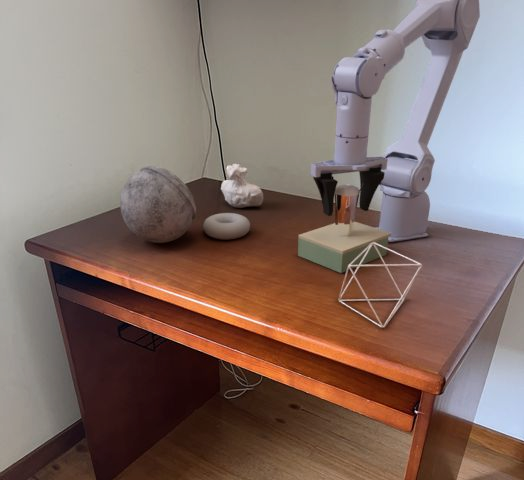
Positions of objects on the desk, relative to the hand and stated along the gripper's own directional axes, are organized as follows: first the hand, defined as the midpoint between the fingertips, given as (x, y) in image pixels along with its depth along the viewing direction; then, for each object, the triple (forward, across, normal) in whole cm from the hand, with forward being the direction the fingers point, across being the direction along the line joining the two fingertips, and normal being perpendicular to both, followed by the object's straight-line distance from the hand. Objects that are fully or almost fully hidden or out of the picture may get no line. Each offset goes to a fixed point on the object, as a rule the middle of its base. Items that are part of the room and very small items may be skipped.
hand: (346, 211), depth 102 cm
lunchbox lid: (+5, 0, 0) cm, 5 cm away
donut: (+9, -17, +20) cm, 27 cm away
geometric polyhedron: (+9, -6, -22) cm, 25 cm away
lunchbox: (+8, 0, 0) cm, 8 cm away
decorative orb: (+9, -31, +21) cm, 38 cm away
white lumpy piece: (+9, -8, +36) cm, 38 cm away
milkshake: (+4, 0, 0) cm, 4 cm away
